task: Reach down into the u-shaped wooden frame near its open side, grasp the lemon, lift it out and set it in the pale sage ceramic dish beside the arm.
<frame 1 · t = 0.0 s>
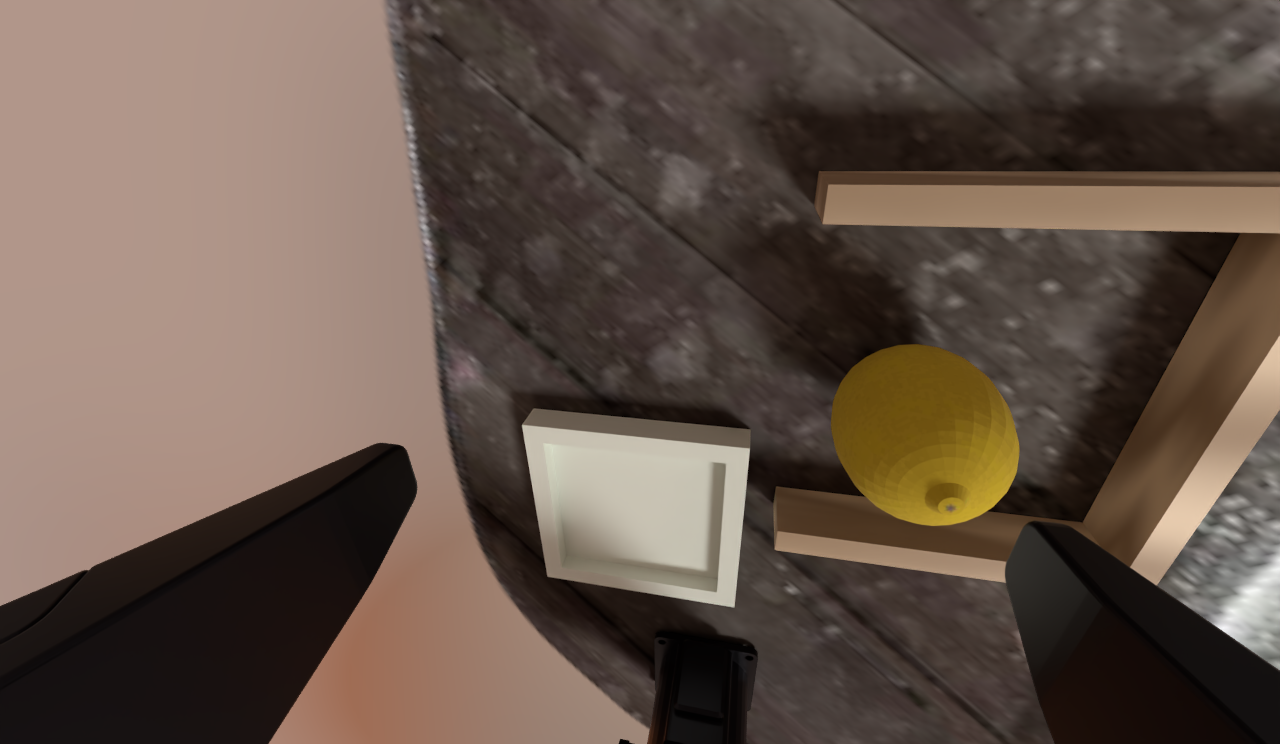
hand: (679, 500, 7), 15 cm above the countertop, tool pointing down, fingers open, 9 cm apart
dish: (640, 501, 28), on the countertop
lemon: (889, 371, 21), on the countertop
u-shaped wooden frame: (969, 379, 21), on the countertop
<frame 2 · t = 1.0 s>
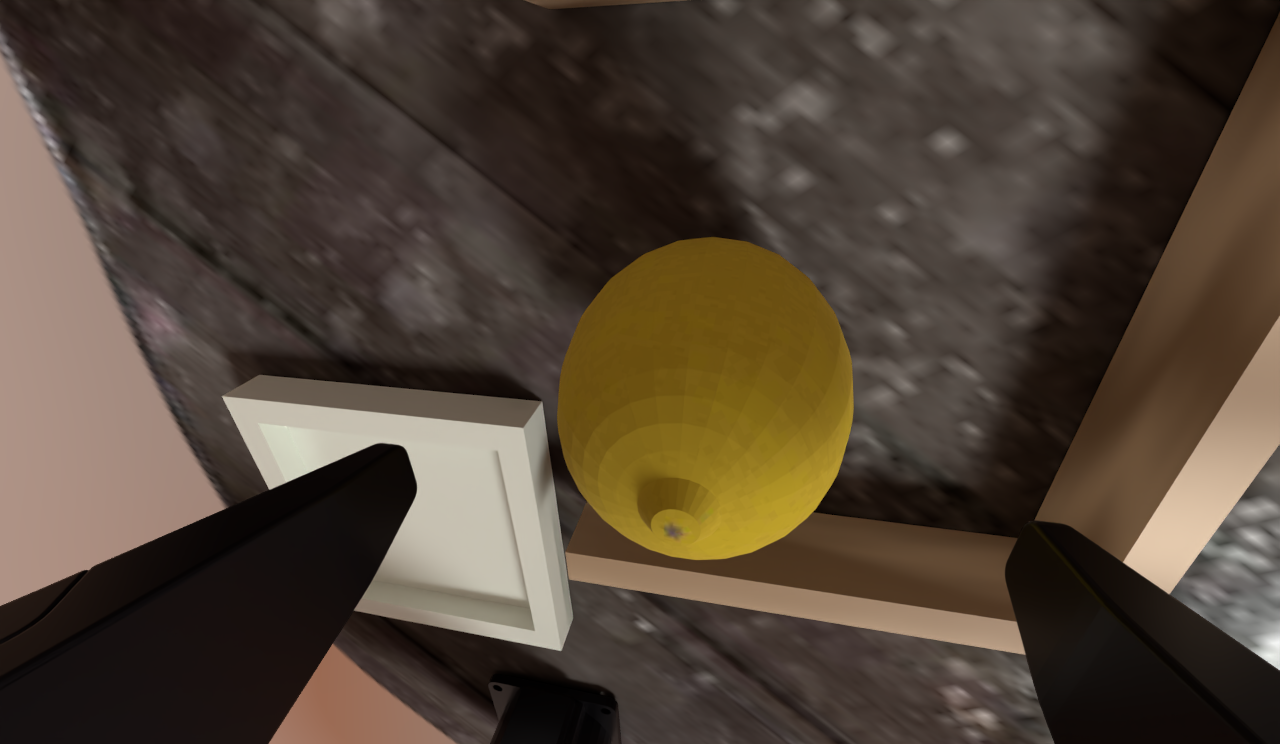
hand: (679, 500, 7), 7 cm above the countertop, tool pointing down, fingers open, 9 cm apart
dish: (428, 505, 20), on the countertop
lemon: (719, 306, 14), on the countertop
u-shaped wooden frame: (836, 315, 13), on the countertop
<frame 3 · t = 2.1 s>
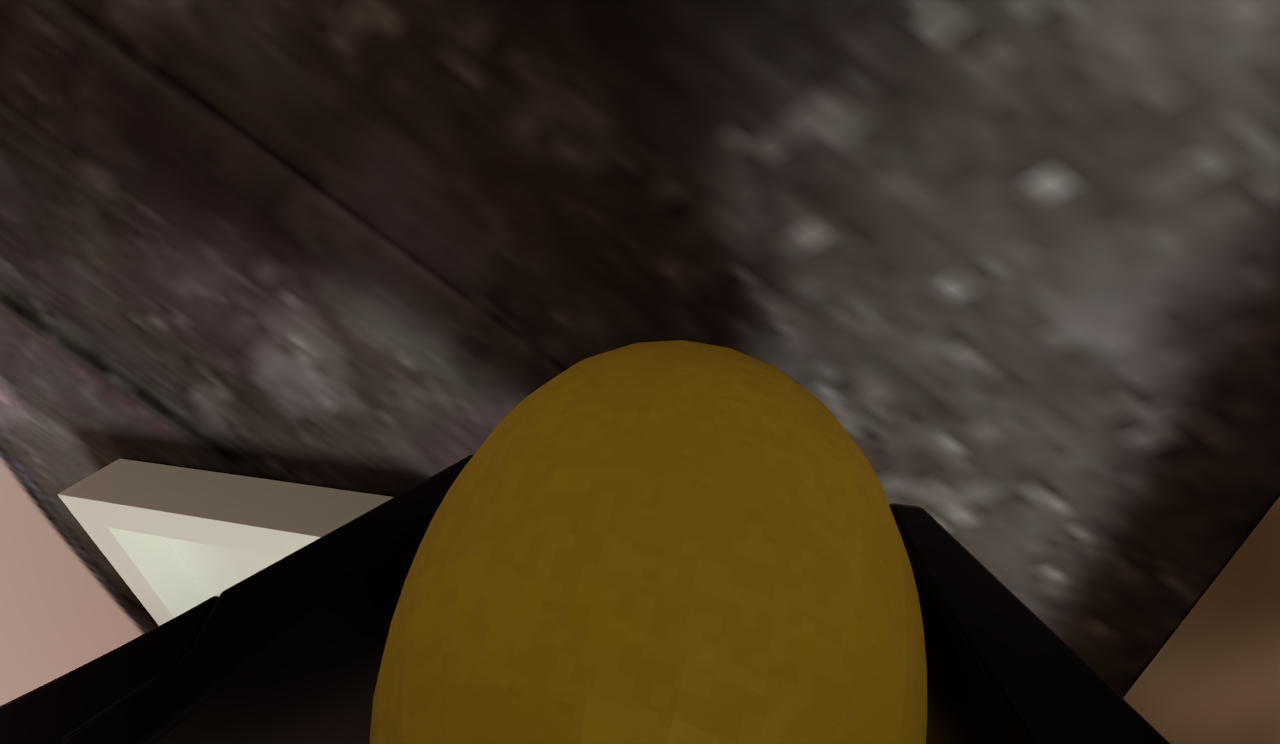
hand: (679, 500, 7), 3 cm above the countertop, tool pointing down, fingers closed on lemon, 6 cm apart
dish: (344, 613, 16), on the countertop
lemon: (699, 401, 10), on the countertop, touching gripper
u-shaped wooden frame: (865, 423, 9), on the countertop
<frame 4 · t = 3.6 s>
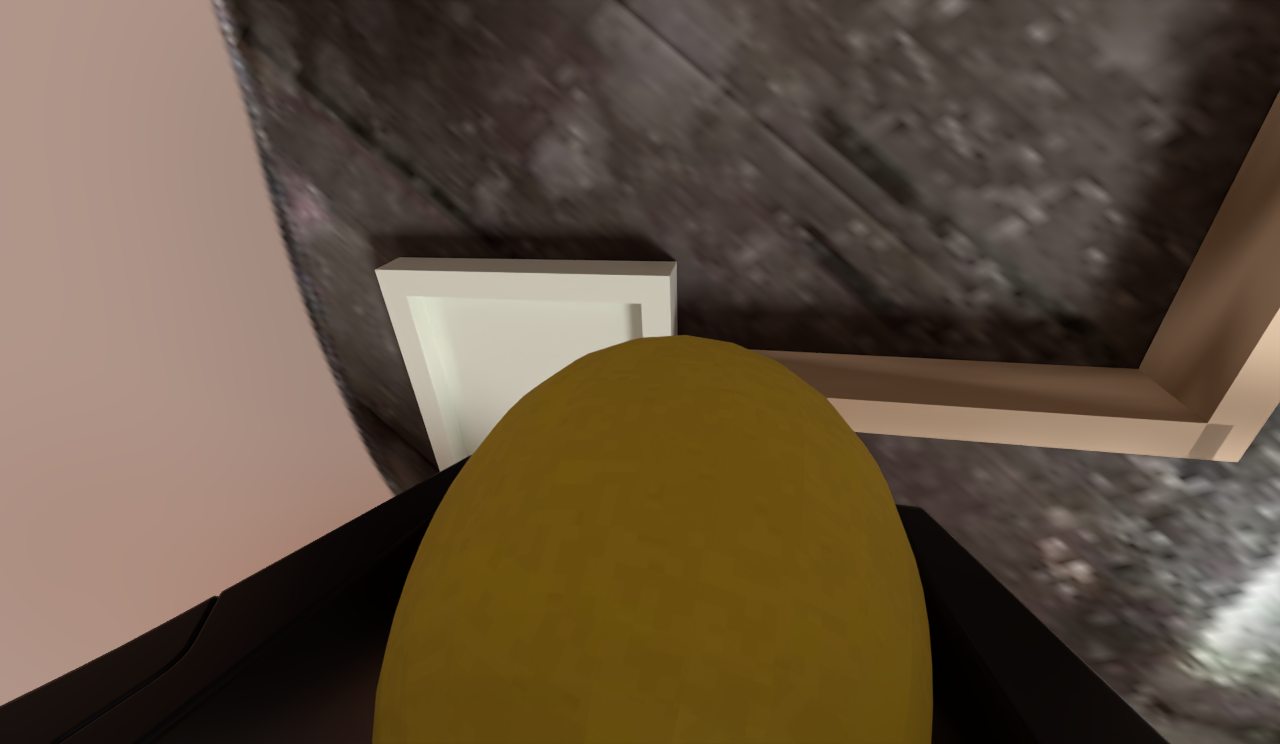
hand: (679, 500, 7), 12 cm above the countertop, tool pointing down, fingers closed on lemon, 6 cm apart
dish: (550, 385, 21), on the countertop
lemon: (700, 398, 10), point 9 cm above the countertop, touching gripper
u-shaped wooden frame: (975, 144, 14), on the countertop
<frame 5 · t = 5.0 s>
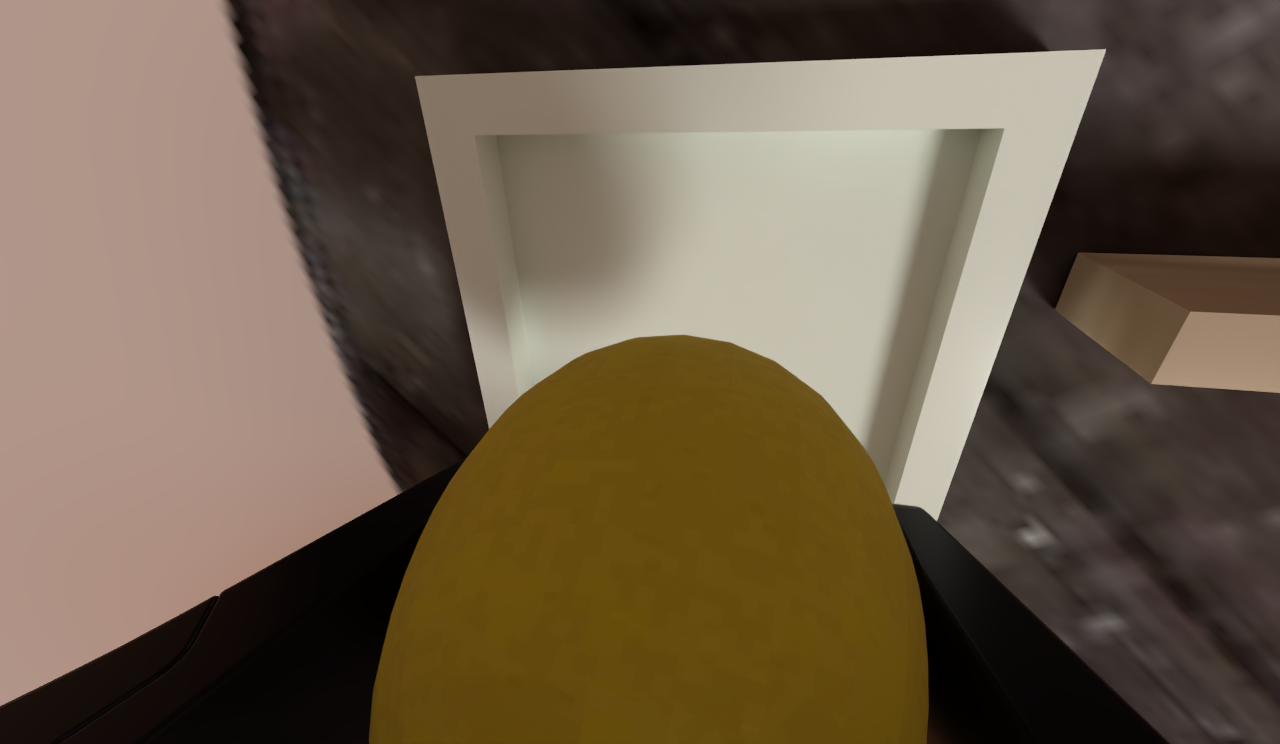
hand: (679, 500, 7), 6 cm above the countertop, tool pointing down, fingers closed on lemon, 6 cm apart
dish: (710, 333, 12), on the countertop
lemon: (699, 397, 10), point 3 cm above the countertop, touching gripper
when the fingers open (5 cm above the countertop, at t = 5.5 s): lemon drops 2 cm, resting on dish.
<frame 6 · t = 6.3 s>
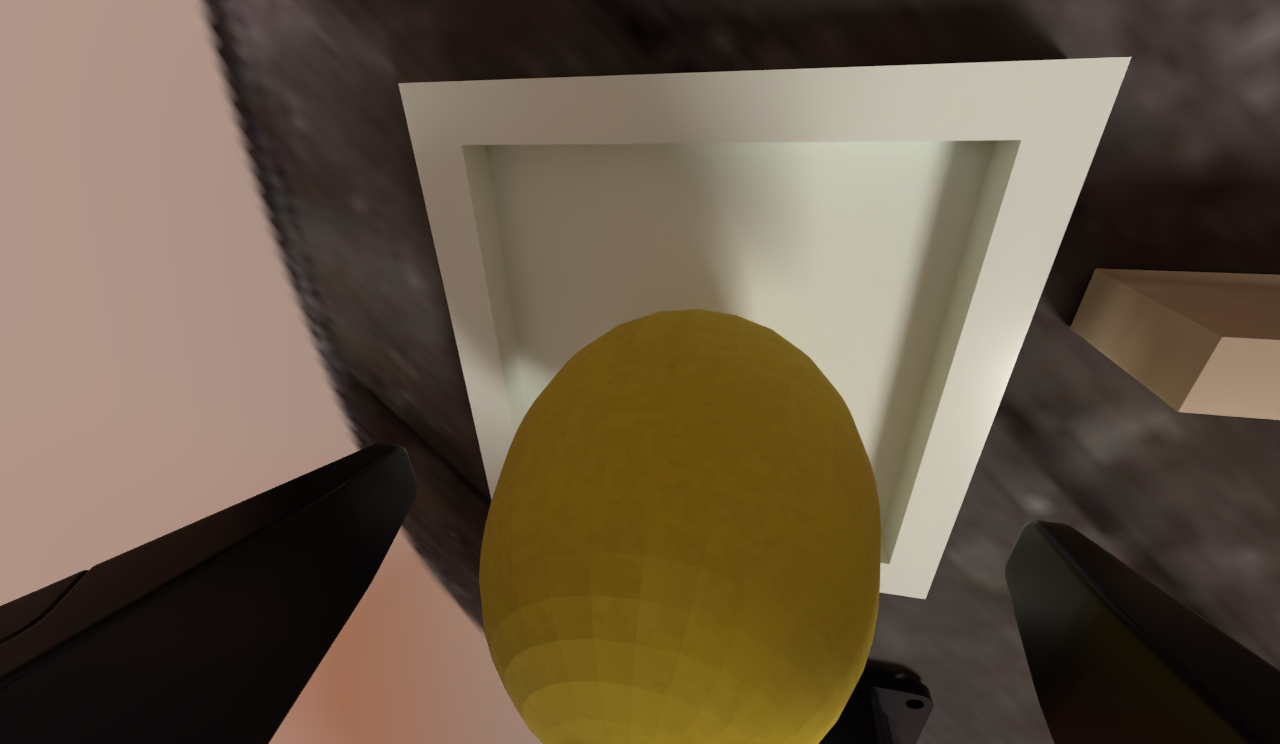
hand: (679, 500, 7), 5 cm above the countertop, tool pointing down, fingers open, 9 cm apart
dish: (709, 349, 12), on the countertop
lemon: (708, 358, 11), point 1 cm above the countertop, touching dish
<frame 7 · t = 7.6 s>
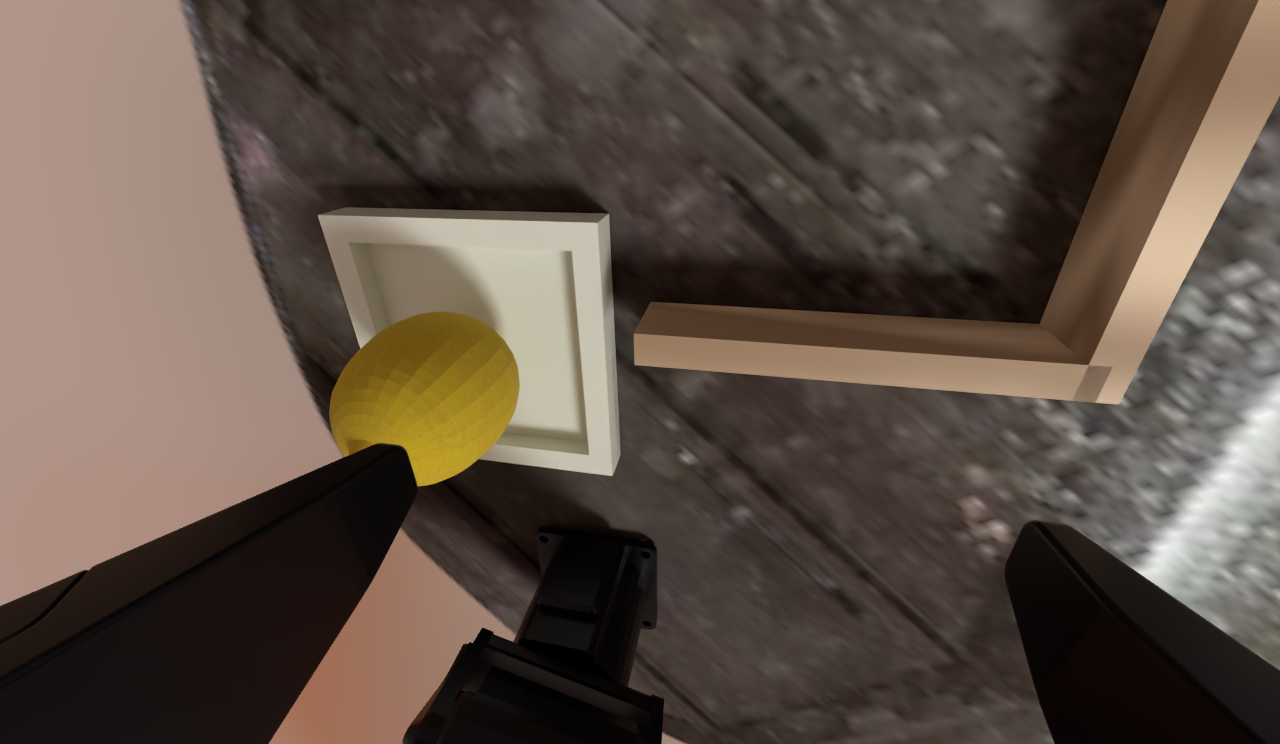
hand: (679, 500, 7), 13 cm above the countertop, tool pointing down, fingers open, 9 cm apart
dish: (493, 340, 22), on the countertop
lemon: (489, 343, 22), resting on dish
u-shaped wooden frame: (879, 99, 15), on the countertop
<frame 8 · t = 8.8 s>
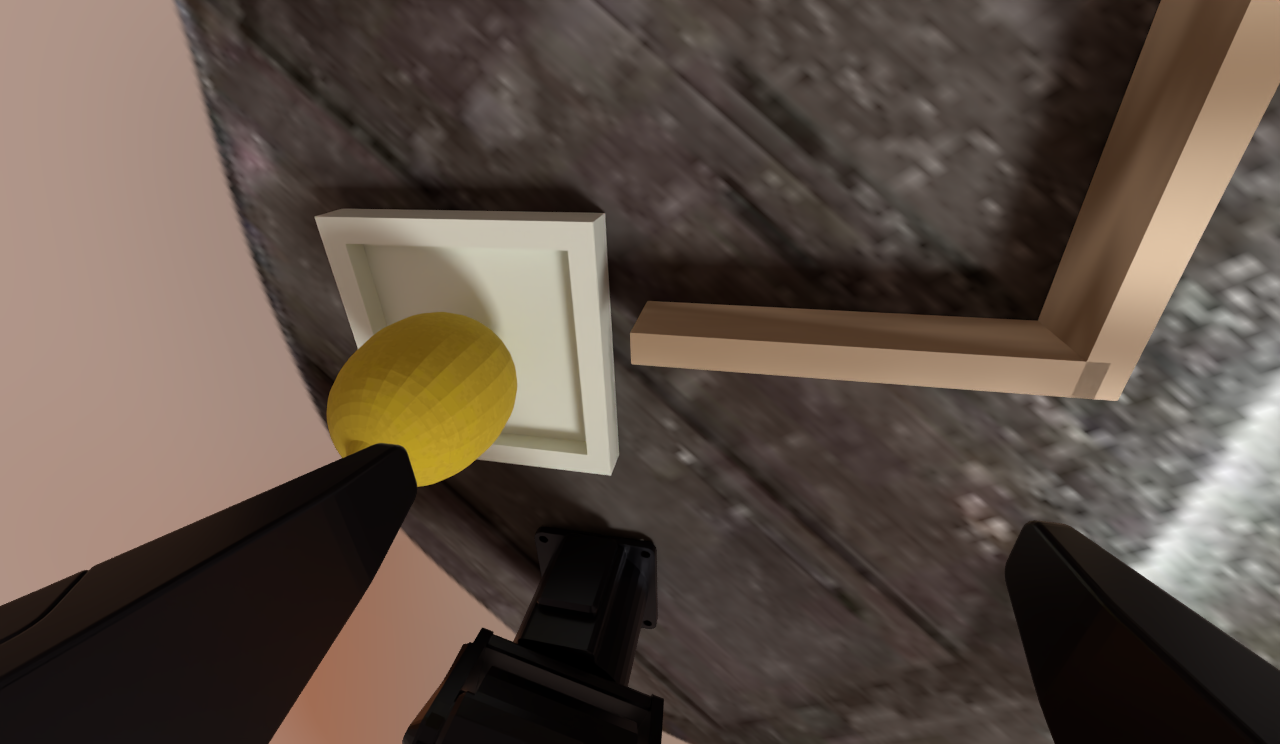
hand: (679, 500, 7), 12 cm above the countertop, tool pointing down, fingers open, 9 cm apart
dish: (490, 340, 22), on the countertop
lemon: (487, 344, 22), resting on dish
u-shaped wooden frame: (874, 95, 15), on the countertop
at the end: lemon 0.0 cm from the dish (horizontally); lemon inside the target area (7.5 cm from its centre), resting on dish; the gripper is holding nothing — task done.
